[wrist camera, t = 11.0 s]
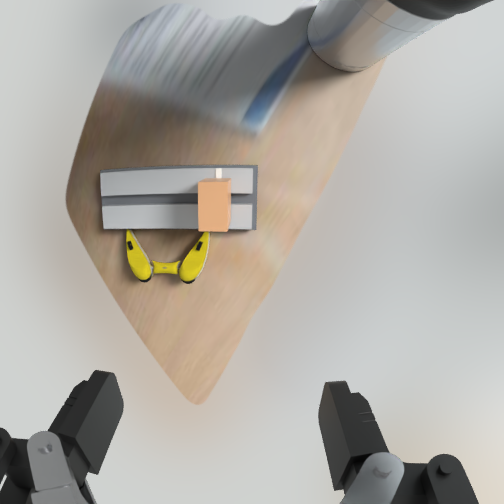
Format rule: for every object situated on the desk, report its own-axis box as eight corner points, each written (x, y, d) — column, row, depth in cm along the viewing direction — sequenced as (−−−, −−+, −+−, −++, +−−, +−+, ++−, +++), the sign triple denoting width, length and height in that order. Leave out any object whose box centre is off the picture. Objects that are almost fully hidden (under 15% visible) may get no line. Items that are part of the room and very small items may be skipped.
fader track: (109, 226, 35) (100, 231, 33) (105, 169, 33) (96, 171, 30) (255, 226, 35) (256, 232, 33) (257, 165, 33) (257, 165, 31)
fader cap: (207, 218, 33) (198, 231, 27) (207, 177, 32) (197, 182, 26) (231, 218, 33) (227, 231, 27) (231, 177, 32) (227, 182, 26)
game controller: (132, 281, 36) (122, 281, 33) (134, 230, 37) (124, 226, 33) (210, 283, 37) (206, 284, 33) (211, 230, 37) (208, 226, 34)
